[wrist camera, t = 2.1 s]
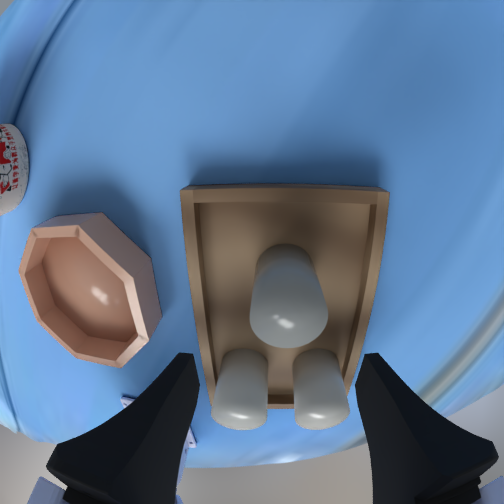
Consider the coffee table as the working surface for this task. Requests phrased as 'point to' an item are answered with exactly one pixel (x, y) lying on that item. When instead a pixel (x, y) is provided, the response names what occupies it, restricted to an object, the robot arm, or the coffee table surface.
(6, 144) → the teacup with lid
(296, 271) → the grey rounded cylinder
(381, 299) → the coffee table surface
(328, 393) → the light stone
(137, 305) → the bowl
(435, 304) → the coffee table surface
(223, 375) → the light stone
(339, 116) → the coffee table surface
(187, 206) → the tray
